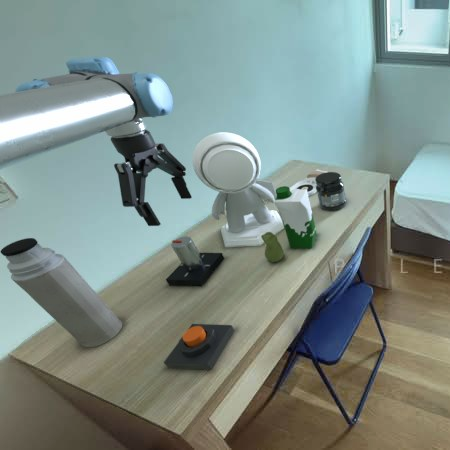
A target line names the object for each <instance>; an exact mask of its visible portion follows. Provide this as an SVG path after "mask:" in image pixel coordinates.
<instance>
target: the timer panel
mask: <svg viewBox="0 0 450 450" xmlns="http://www.w3.org/2000/svg"><path fill="white" fill-rule="evenodd" d="M199 253H200V255H201V257H202V259H203V261H204V264H203V266H202V267H200V268H199V269H197V270H194V271H187V270H186V269H185V268H184V266H183V264H182V263H181V262H180V264H179V265H178V266H177V267H176V268H175V269H174V270H173V271H172V272H171V273H170V274H169V275H168V276H167V278H165V281H166V283H167V284H168V286H169V287H201V288H203V286H204V285H205V284H206V283H207V281H208V280H209V279H210V278H211V276H212V275H213V274H214V273H215V271H216V270H217V269H218V268H219V266H220V265H221V264H222V263H223V261H224V260H225V256H224V254H223V253H222V252H201V251H199Z"/></svg>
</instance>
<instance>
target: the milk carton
mask: <svg viewBox="0 0 450 450" xmlns="http://www.w3.org/2000/svg"><path fill="white" fill-rule="evenodd" d="M275 189H276V194H277V197H276V199H275V201H274V203H273V204H274V205H275V206H276V208H277V210H278V213H279V216H280V218H281V219H282V222H283V225H284V231H285V234H286V238H287V242H288V244H289V245H288V246H289V248H290V249H312V248H313V246H314V244H315V241H316V238H317V236H318V234H317V228H316V223H315V219H314V214H313V211H312V206H311V203H310V196H308V192H307V189H290V187H289V186H286V185H285V186H284V185H283V186H279V187H277V188H275Z"/></svg>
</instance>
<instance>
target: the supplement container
mask: <svg viewBox="0 0 450 450" xmlns="http://www.w3.org/2000/svg"><path fill="white" fill-rule="evenodd" d="M315 181H316V184H317V185H316V190H317V192H316V194H317V199H318V204H319V207H320V208H321V209H323V210H325V211H336V210H337V211H338V210H340V209H341V208H343V207H344V206H345V205H346V203H347V199H346V192H345V187H344V186H345V184H344V181H342V175H341V174H340V173H339V172H336V171H326V173H322V174H320V175H318V176H317V177H316V179H315Z"/></svg>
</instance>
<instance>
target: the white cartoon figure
mask: <svg viewBox="0 0 450 450" xmlns="http://www.w3.org/2000/svg"><path fill="white" fill-rule="evenodd" d="M191 161H192V162H191V163H192V167H193V170H194V172H195V175H196V176H197V178H198V179H199V180H200V181H201V183H202V184H204V185H205V186H206V187H208V188H210V189H211V190H213V191H215V192H218V194H217V195H216V197H215V199H214V201H213V204H212V206H211V214H212V217H213V218H214V219H215V220H216V221H219V220H220V217H219V216H220V215H222V216H225V214H226V220H227V221H226V224H223V225H222V226H221V227H220V233H221V236H222V239H223V243H224V247H225V248H239V247H240V248H241V247H258V246H259V247H260V246H262V245H263V244H265V242H264V241H263V239H262V237H261V236H262V235H264V234H265V233H266V232H272V233H273V234H274V235H275V236H276V235H278V234H279V232H282V231H283V230H285V228H284V225H283V222H282V219H281V216H280V213H279V211H277V210H273V209H271V210H269V208H268V207H267V205H266V204H265V203H267V202H268V201H270V202H271V204H275V203H274V202H275V200H276V199H274V196H273V194H272V193H271V192H270V191H269V190H267V189H266V188H264V187H263V186H261V185H259V184H256V183H255V182H256V180H257V179H259V177H260V175H261V169H262V162H261V158H260V155H259V152H258V150H257V149H256V147H255V146H254V145H253V144H252V143H251V142H250V141H249V140H248V139H246V138H244V136H241V135H239V134H236V133H233V132H228V131H227V132H225V131H223V132H222V131H221V132H214V133H211V134H209V135H206V136H205V137H203V138H202V139H201V140H200V141H198V143H197V144H196V146H195V147H194V150H193V152H192V159H191ZM256 193H257V194H258V195H260V196H261V197H260V196H258V195H257V194H256ZM225 210H226V211H225ZM225 212H226V213H225Z"/></svg>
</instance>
